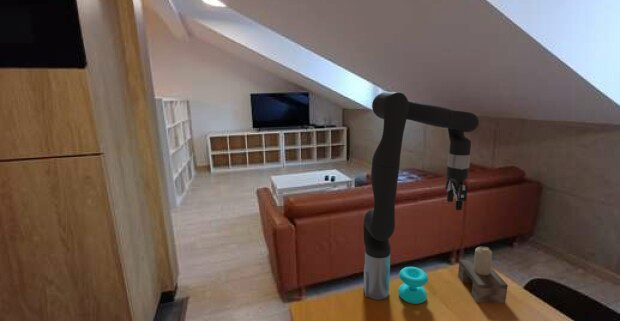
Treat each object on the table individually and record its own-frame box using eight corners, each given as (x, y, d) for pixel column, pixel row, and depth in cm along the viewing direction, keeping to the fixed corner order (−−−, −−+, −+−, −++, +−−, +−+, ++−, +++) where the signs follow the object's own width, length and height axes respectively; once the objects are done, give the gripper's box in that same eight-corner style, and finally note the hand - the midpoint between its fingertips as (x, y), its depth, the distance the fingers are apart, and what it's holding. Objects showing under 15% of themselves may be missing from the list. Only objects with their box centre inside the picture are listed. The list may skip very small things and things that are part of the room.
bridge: (476, 302, 109) (478, 284, 107) (458, 276, 125) (459, 259, 123) (505, 303, 109) (507, 285, 107) (483, 276, 124) (484, 260, 122)
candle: (486, 267, 117) (488, 244, 115) (492, 276, 112) (495, 251, 110) (471, 266, 118) (473, 243, 116) (476, 275, 113) (479, 251, 110)
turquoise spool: (395, 266, 115) (419, 263, 117) (394, 289, 118) (418, 286, 119) (407, 282, 106) (433, 279, 107) (405, 307, 108) (431, 303, 109)
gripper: (441, 160, 121) (437, 199, 125) (455, 170, 108) (450, 212, 111) (460, 161, 121) (456, 199, 124) (477, 170, 107) (472, 213, 111)
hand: (453, 205), depth 118 cm, fingers open, 8 cm apart
